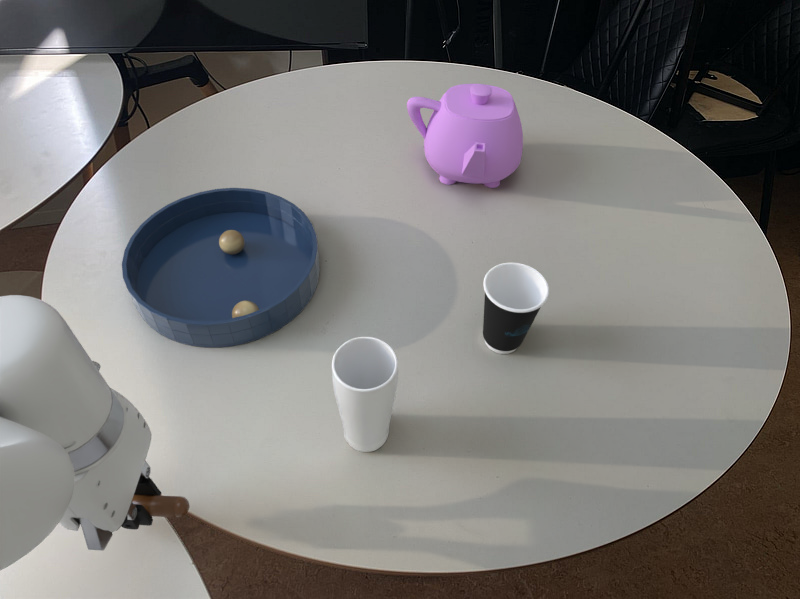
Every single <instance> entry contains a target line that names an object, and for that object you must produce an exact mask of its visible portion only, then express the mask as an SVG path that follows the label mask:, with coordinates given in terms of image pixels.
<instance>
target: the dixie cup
mask: <svg viewBox="0 0 800 599" xmlns="http://www.w3.org/2000/svg"><path fill="white" fill-rule="evenodd" d="M482 285H483V291H484V305H483V322H482V337H483V340H484V343H485V345H486V346H487V348H488V349H489V350H490V351H492V352H493V353H496V354H500V355H508V354H509V355H510V354H511V353H514V352H515V351H516V350H517V349H518V348H520V346H521V345H522V344H523V342H524V341H525V338H526V336H527V335H528V333H529V331H530V329H531V326H532V325H533V323H534V321H535V320H536V318H537V316H538V314H539V311H540V310H541V308H542V307H543V306H544V305H545V303H546V302H547V301H548V299H549V297H550V286H549V282H548V281H547V280H546V277H545V276H544V275H543V274H542V273H541V272H540V271H539V270H538V269H536V268H534V267H532V266H530V265H528V264H524V263H520V262H512V261H511V262H503V263H499V264H497V265H495V266H493V267H491V268H490V269H489V270H488V271H487V272H486V274H485V275H484V277H483V284H482Z"/></svg>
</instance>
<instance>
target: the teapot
mask: <svg viewBox="0 0 800 599" xmlns="http://www.w3.org/2000/svg"><path fill="white" fill-rule="evenodd" d="M421 109H429V110H433V111H432V113H431V115H430V117H429V120H428V123H427V126H426V124H425V121H424V120H423V117H422V113H421ZM406 110H407V113H408V116H409V118H410V120H411V122H412V123H413V125H414V126H415V128H416V129H417V131H418V132H419V134H420V135H421V137H422V138H423V151H424V155H425V159H426V161H427V163H428V165H429V166H430V167H431V169H432V170H433V171H434V172H435V173H436V174H438V175H439V177H438V180H439V181H440V183H442V184H444V185H454V184H456V183H457V182H459V183H465V184H474V185H475V184H482V185H483V186H485V187H486V188H491V189H494V188H495V189H496V188H498V187H499V186H500V185H501V181H502V180H504V179H506V178H508V177H509V176H510V175H512V174H513V173H514V172H515V171H516V170H517V169H518V168H519V166H520V164H521V161H522V155H523V149H524V134H523V126H522V122H521V117H520V114H519V111H518V108H517V105H516V102H515V100H514V98H513V95H512V94H511V93H510V92H509V91H508V90H506V89H504V88H501V87H500V86H495V85H490V84H486V83H485V84H484V83H462V84H455V85H453V86H451V87H449V88H448V89H447V90H446V91H445V92H444V94H442V96H441V98H440V99H439V100H436V99H433V98H430V97H429V98H428V97H424V96H412V97H410V98H409V99H408V100H407V102H406Z"/></svg>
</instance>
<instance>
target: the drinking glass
mask: <svg viewBox="0 0 800 599" xmlns="http://www.w3.org/2000/svg"><path fill="white" fill-rule="evenodd" d="M331 381H332V388H333V394H334V398H335V402H336V406H337V409H338V412H339V417H340V421H341V425H342V430H343V431H342V432H343V437H344V440H345V442H346V443H347V444H348V446H349V447H351V448H352V449H353V450H355V451H357V452H360V453H361V452H362V453H370V452H371V453H372V452H374V451H377V450H379V449H381V447H382V446H384V444H385V443H386V441H387V440H388V438H389V434H390V424H391V419H392V415H393V411H394V406H395V401H396V398H397V397H396V396H397V391H398V384H399V360H398V356H397V353H396V352H395V350H394V349H393V347H392V346H391V345H390V344H388V343H387V342H386V341H384V340H383V339H381V338H377V337H375V336H374V337H373V336H357V337H353V338H350V339H348V340H346V341H345V342H343V343H342V344H340V346H338V348H337V349H336V350H335V352H334V354H333V356H332V359H331Z"/></svg>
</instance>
